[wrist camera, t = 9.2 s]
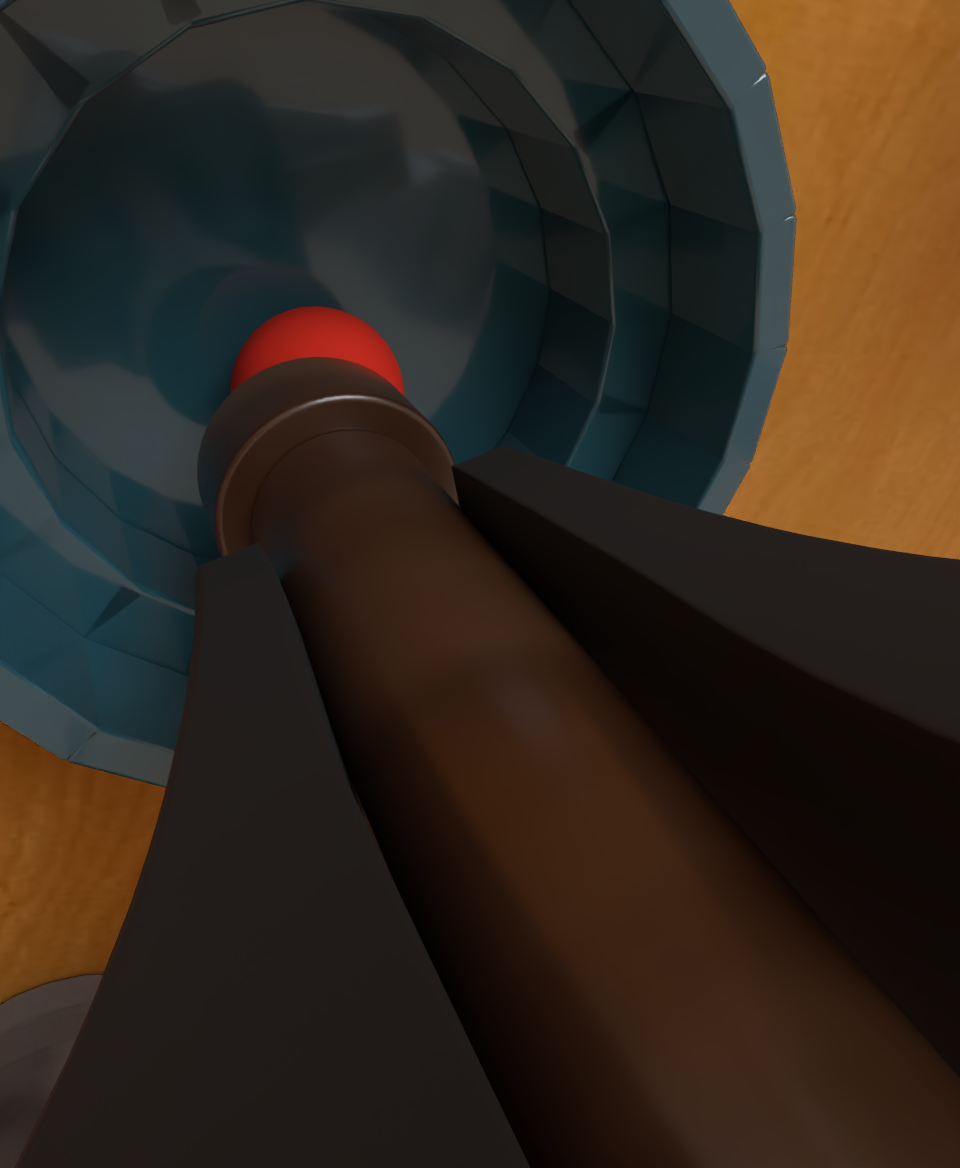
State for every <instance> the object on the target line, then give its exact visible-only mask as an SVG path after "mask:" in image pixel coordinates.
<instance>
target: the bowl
mask: <svg viewBox="0 0 960 1168" xmlns="http://www.w3.org/2000/svg"><path fill="white" fill-rule="evenodd" d="M765 70H766V65H765V64H764V62H763V60H762V58H761V57H760V55H759V53H758V51H757V50H756V48H755V46H754V44H753V42H752V41H751V39H750V37H749V35H748V34H747V32H746V30H745V28H744V27H743V25H742V23H741V21H740V19H739V18H738V16H737V14H736V12H735V11H734V9H733V7H732V5H731V4H730V2H729V0H0V721H1V722H2V723H4V724H6V725H7V726H9V727H10V728H12V729H14V730H15V731H17V732H18V733H20V734H22V735H23V736H25V737H26V738H28V739H30V740H31V741H33V742H35V743H36V744H38V745H39V746H41V747H43V748H44V749H46V750H47V751H49V752H51V753H52V754H54V755H55V756H57V757H59V758H60V759H63V760H65V759H66V760H67V761H68V762H70V763H74V764H78V765H82V766H85V767H89V768H93V769H97V770H100V771H104V772H108V773H112V774H116V775H119V776H123V777H127V778H131V779H134V780H138V781H142V782H146V783H149V784H153V785H157V786H161V787H165V788H166V786H167V782H168V777H169V773H170V769H171V764H172V760H173V756H174V752H175V747H176V743H177V739H178V734H179V730H180V725H181V720H182V715H183V709H184V703H185V696H186V689H187V683H188V676H189V669H190V663H191V656H192V645H193V634H194V620H195V588H194V580H193V579H194V577H195V575H196V573H197V571H198V569H199V567H200V565H203V564H205V563H208V562H210V561H213V560H215V559H218V558H220V557H221V556H220V553H219V550H218V547H217V544H216V541H215V539H214V536H213V533H212V530H211V527H210V524H209V521H208V518H207V515H206V512H205V509H204V506H203V503H202V500H201V497H200V494H199V488H198V482H197V462H198V454H199V449H200V445H201V442H202V438H203V435H204V433H205V431H206V428H207V426H208V424H209V422H210V420H211V418H212V417H213V415H214V414H215V412H216V410H217V409H218V407H219V406H220V405H221V404H222V403H223V401H224V400H225V399H226V398H227V396H229V395H230V394H231V377H232V373H233V368H234V365H235V362H236V359H237V357H238V354H239V352H240V350H241V348H242V347H243V345H244V344H245V342H246V341H247V339H248V338H249V337H250V336H251V334H252V333H253V332H254V331H255V330H256V329H257V328H258V327H260V326H261V325H262V324H263V323H265V322H266V321H267V320H269V319H270V318H272V317H274V316H276V315H278V314H280V313H283V312H285V311H288V310H291V309H295V308H300V307H311V306H320V307H328V308H334V309H337V310H341V311H344V312H346V313H349V314H351V315H353V316H355V317H357V318H359V319H361V320H362V321H364V322H365V323H366V324H368V325H369V326H370V327H372V328H373V329H374V330H375V331H376V332H377V333H378V334H379V335H380V336H381V337H382V338H383V339H384V341H385V342H386V343H387V345H388V346H389V347H390V349H391V351H392V353H393V354H394V356H395V358H396V360H397V363H398V365H399V368H400V371H401V375H402V379H403V384H404V396H405V397H406V398H407V399H408V400H409V401H410V402H411V403H412V405H413V406H414V407H415V408H416V409H417V410H418V411H419V412H420V413H421V414H422V415H423V416H424V417H425V418H426V419H427V420H428V421H429V422H430V423H431V424H432V425H433V426H434V427H435V428H436V430H437V431H438V432H439V433H440V435H441V436H442V438H443V439H444V441H445V442H446V444H447V446H448V448H449V450H450V452H451V455H452V457H453V459H454V463H455V465H456V464H458V463H461V462H463V461H466V460H468V459H471V458H473V457H476V456H479V455H481V454H484V453H486V452H489V451H491V450H494V449H496V448H499V447H501V446H503V447H507V448H511V449H515V450H518V451H522V452H525V453H528V454H531V455H534V456H537V457H540V458H543V459H546V460H549V461H552V462H555V463H558V464H561V465H564V466H567V467H570V468H573V469H575V470H578V471H581V472H584V473H587V474H590V475H593V476H596V477H599V478H602V479H605V480H608V481H611V482H614V483H617V484H620V485H623V486H626V487H629V488H632V489H635V490H638V491H641V492H644V493H648V494H651V495H654V496H657V497H660V498H664V499H667V500H670V501H673V502H677V503H680V504H684V505H687V506H690V507H694V508H697V509H701V510H704V511H708V512H712V513H715V514H719V515H723V513H724V512H725V510H726V508H727V506H728V505H729V503H730V501H731V499H732V498H733V496H734V494H735V492H736V490H737V489H738V487H739V485H740V483H741V482H742V480H743V478H744V476H745V475H746V473H747V471H748V469H749V468H750V464H749V463H751V462H752V460H753V457H754V454H755V451H756V447H757V444H758V441H759V438H760V435H761V431H762V428H763V425H764V422H765V419H766V416H767V412H768V409H769V406H770V403H771V400H772V396H773V393H774V390H775V387H776V384H777V380H778V377H779V374H780V371H781V368H782V364H783V361H784V358H785V355H786V352H787V347H786V346H785V345H786V344H787V343H788V337H789V322H790V307H791V292H792V278H793V263H794V248H795V233H796V215H795V214H794V212H795V210H796V206H795V201H794V196H793V191H792V187H791V182H790V177H789V172H788V167H787V162H786V157H785V152H784V147H783V142H782V138H781V133H780V128H779V123H778V118H777V113H776V108H775V103H774V98H773V93H772V89H771V84H770V79H769V76H768V74H767V73H766V72H765ZM458 506H459V504H458ZM459 507H460V506H459Z"/></svg>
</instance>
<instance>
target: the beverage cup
mask: <svg viewBox="0 0 960 1168" xmlns="http://www.w3.org/2000/svg"><path fill="white" fill-rule="evenodd" d="M102 976H103V975H83V976H78V977H73V978H69V979H64V980H59V981H54V982H50V983H47V984H44V985H42V986H39V987H37V988H34V989H32V990H29V991H27V992H24V993H22V994H19V995H17V996H14V997H12V998H11V999H9V1000H7V1001H6V1002H4V1003H2V1004H1V1005H0V1168H14V1167H15V1165H16V1163H17V1161H18V1159H19V1157H20V1155H21V1153H22V1151H23V1149H24V1147H25V1145H26V1143H27V1141H28V1139H29V1137H30V1134H31V1132H32V1130H33V1128H34V1126H35V1124H36V1122H37V1120H38V1118H39V1116H40V1114H41V1112H42V1110H43V1108H44V1106H45V1104H46V1102H47V1099H48V1097H49V1095H50V1093H51V1091H52V1089H53V1087H54V1085H55V1083H56V1081H57V1079H58V1077H59V1075H60V1073H61V1071H62V1069H63V1067H64V1064H65V1062H66V1060H67V1058H68V1056H69V1054H70V1051H71V1049H72V1047H73V1045H74V1042H75V1040H76V1038H77V1036H78V1033H79V1031H80V1029H81V1027H82V1024H83V1022H84V1020H85V1017H86V1015H87V1013H88V1010H89V1008H90V1006H91V1003H92V1001H93V998H94V996H95V994H96V991H97V989H98V986H99V984H100V981H101V978H102Z"/></svg>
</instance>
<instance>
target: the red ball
mask: <svg viewBox="0 0 960 1168" xmlns="http://www.w3.org/2000/svg"><path fill="white" fill-rule="evenodd" d="M307 357H331V358H338V359H344V360H348V361H351V362H354V363H358V364H360V365H362V366H365V367H367V368H369V369H371V370H373V371H375V372H376V373H378V374H379V375H381V376H382V377H384V378H385V379H386V380H388V381H389V382H390V383H391V384H392V385H393V386H395V387H396V388H397V389H398V390H399V391H400V392H401V393H402V394H403V395H404V384H403V379H402V375H401V371H400V368H399V365H398V363H397V360H396V358H395V356H394V354H393V353H392V351H391V349H390V347H389V346H388V345H387V343H386V342H385V341H384V339H383V338H382V337H381V336H380V335H379V334H378V333H377V332H376V331H375V330H374V329H373V328H372V327H370V326H369V325H368V324H366V323H365V322H364V321H362V320H361V319H359V318H357V317H355V316H353V315H351V314H349V313H346V312H344V311H341V310H337V309H334V308H328V307H320V306H311V307H300V308H295V309H291V310H288V311H285V312H283V313H280V314H278V315H276V316H274V317H272V318H270V319H269V320H267V321H266V322H265V323H263V324H262V325H261V326H260V327H258V328H257V329H256V330H255V331H254V332H253V333H252V334H251V336H250V337H249V338H248V339H247V341H246V342H245V344H244V345H243V347H242V348H241V350H240V352H239V354H238V357H237V359H236V362H235V365H234V368H233V373H232V377H231V393H232V392H233V391H234V390H235V389H236V388H237V387H238V386H239V385H241V384H242V383H243V382H245V381H246V380H247V379H249V378H250V377H252V376H253V375H255V374H257V373H259V372H261V371H262V370H264V369H266V368H268V367H271V366H274V365H276V364H279V363H282V362H285V361H290V360H294V359H298V358H307Z"/></svg>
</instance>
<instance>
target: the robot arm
mask: <svg viewBox="0 0 960 1168" xmlns="http://www.w3.org/2000/svg"><path fill="white" fill-rule="evenodd" d="M451 468H452V473H453V478H454V482H455V487H456V492H457V496H458V501H459V506H460V508H461V509H462V510H463V511H464V512H465V514H466V515H467V516H468V517H469V518H470V519H471V520H472V522H473V523H474V524H475V525H476V526H477V527H478V528H479V530H480V531H481V532H482V533H483V534H484V535H485V536H486V538H487V539H488V540H489V541H490V542H491V543H492V544H493V545H494V547H495V548H496V549H497V550H498V551H499V552H500V553H501V555H502V556H503V557H504V558H505V559H506V560H507V561H508V563H509V564H510V565H511V566H512V567H513V568H514V569H515V571H516V572H517V573H518V574H519V575H520V576H521V577H522V579H523V580H524V581H525V582H526V583H527V584H528V585H529V587H530V588H531V589H532V590H533V591H534V592H535V593H536V595H537V596H538V597H539V598H540V599H541V600H542V601H543V603H544V604H545V605H546V606H547V607H548V608H549V609H550V611H551V612H552V613H553V614H554V615H555V616H556V617H557V619H558V620H559V621H560V622H561V623H562V624H563V625H564V627H565V628H566V629H567V630H568V631H569V632H570V633H571V634H572V636H573V637H574V638H575V639H576V640H577V641H578V642H579V644H580V645H581V646H582V647H583V648H584V649H585V650H586V652H587V653H588V654H589V655H590V656H591V657H592V658H593V660H594V661H595V662H596V663H597V664H598V665H599V666H600V668H601V669H602V670H603V671H604V672H605V673H606V674H607V676H608V677H609V678H610V679H611V680H612V681H613V682H614V684H615V685H616V686H617V687H618V688H619V689H620V690H621V692H622V693H623V694H624V695H625V696H626V697H627V698H628V700H629V701H630V702H631V703H632V704H633V705H634V706H635V708H636V709H637V710H638V711H639V712H640V713H641V714H642V715H643V717H644V718H645V719H646V720H647V721H648V722H649V723H650V725H651V726H652V727H653V728H654V729H655V730H656V731H657V733H658V734H659V735H660V736H661V737H662V738H663V739H664V741H665V742H666V743H667V744H668V745H669V746H670V747H671V749H672V750H673V751H674V752H675V753H676V754H677V755H678V757H679V758H680V759H681V760H682V761H683V762H684V763H685V765H686V766H687V767H688V768H689V769H690V770H691V771H692V773H693V774H694V775H695V776H696V777H697V778H698V779H699V781H700V782H701V783H702V784H703V785H704V786H705V787H706V789H707V790H708V791H709V792H710V793H711V794H712V795H713V797H714V798H715V799H716V800H717V801H718V802H719V803H720V804H721V806H722V807H723V808H724V809H725V810H726V811H727V812H728V814H729V815H730V816H731V817H732V818H733V819H734V820H735V822H736V823H737V824H738V825H739V826H740V827H741V828H742V830H743V831H744V832H745V833H746V834H747V835H748V836H749V838H750V839H751V840H752V841H753V842H754V843H755V844H756V846H757V847H758V848H759V849H760V850H761V851H762V852H763V854H764V855H765V856H766V857H767V858H768V859H769V860H770V862H771V863H772V864H773V865H774V866H775V867H776V868H777V870H778V871H779V872H780V873H781V874H782V875H783V876H784V878H785V879H786V880H787V881H788V882H789V883H790V884H791V886H792V887H793V888H794V889H795V890H796V891H797V892H798V893H799V895H800V896H801V897H802V898H803V899H804V900H805V901H806V903H807V904H808V905H809V906H810V907H811V908H812V909H813V911H814V912H815V913H816V914H817V915H818V916H819V917H820V919H821V920H822V921H823V922H824V923H825V924H826V925H827V927H828V928H829V929H830V930H831V931H832V932H833V933H834V935H835V936H836V937H837V938H838V939H839V940H840V941H841V943H842V944H843V945H844V946H845V947H846V948H847V949H848V951H849V952H850V953H851V954H852V955H853V956H854V957H855V959H856V960H857V961H858V962H859V963H860V964H861V965H862V967H863V968H864V969H865V970H866V971H867V972H868V973H869V974H870V976H871V977H872V978H873V979H874V980H875V981H876V982H877V984H878V985H879V986H880V987H881V988H882V989H883V990H884V992H885V993H886V994H887V995H888V996H889V997H890V998H891V1000H892V1001H893V1002H894V1003H895V1004H896V1005H897V1006H898V1008H899V1009H900V1010H901V1011H902V1012H903V1013H904V1014H905V1016H906V1017H907V1018H908V1019H909V1020H910V1021H911V1022H912V1024H913V1025H914V1026H915V1027H916V1028H917V1029H918V1030H919V1032H920V1033H921V1034H922V1035H923V1036H924V1037H925V1038H926V1040H927V1041H928V1042H929V1043H930V1044H931V1045H932V1046H933V1048H934V1049H935V1050H936V1051H937V1052H938V1053H939V1054H940V1056H941V1057H942V1058H943V1059H944V1060H945V1061H946V1062H947V1063H948V1065H949V1066H950V1067H951V1068H952V1069H953V1070H954V1071H955V1073H956V1074H957V1075H958V1076H959V1077H960V560H958V559H949V558H940V557H931V556H924V555H917V554H910V553H903V552H896V551H889V550H883V549H877V548H871V547H866V546H860V545H855V544H850V543H844V542H839V541H833V540H828V539H822V538H817V537H811V536H806V535H801V534H797V533H792V532H788V531H783V530H779V529H774V528H770V527H766V526H762V525H758V524H754V523H750V522H746V521H743V520H739V519H735V518H731V517H727V516H723V515H719V514H715V513H712V512H708V511H704V510H701V509H697V508H694V507H690V506H687V505H684V504H680V503H677V502H673V501H670V500H667V499H664V498H660V497H657V496H654V495H651V494H648V493H644V492H641V491H638V490H635V489H632V488H629V487H626V486H623V485H620V484H617V483H614V482H611V481H608V480H605V479H602V478H599V477H596V476H593V475H590V474H587V473H584V472H581V471H578V470H575V469H573V468H570V467H567V466H564V465H561V464H558V463H555V462H552V461H549V460H546V459H543V458H540V457H537V456H534V455H531V454H528V453H525V452H522V451H518V450H515V449H511V448H507V447H503V446H501V447H499V448H496V449H494V450H491V451H489V452H486V453H484V454H481V455H479V456H476V457H473V458H471V459H468V460H466V461H463V462H461V463H458V464H456V465H453V466H451ZM193 580H194V588H195V620H194V634H193V645H192V656H191V663H190V669H189V676H188V683H187V689H186V696H185V703H184V709H183V715H182V720H181V725H180V730H179V734H178V739H177V743H176V747H175V752H174V756H173V760H172V764H171V769H170V773H169V777H168V782H167V786H166V790H165V795H164V798H163V802H162V806H161V809H160V813H159V816H158V820H157V823H156V827H155V830H154V834H153V837H152V840H151V843H150V847H149V850H148V853H147V856H146V859H145V862H144V865H143V868H142V871H141V874H140V877H139V880H138V883H137V886H136V889H135V892H134V895H133V898H132V901H131V904H130V906H129V909H128V912H127V915H126V917H125V920H124V922H123V925H122V927H121V930H120V933H119V935H118V938H117V940H116V943H115V945H114V948H113V950H112V953H111V956H110V958H109V961H108V963H107V966H106V968H105V971H104V973H103V976H102V978H101V981H100V984H99V986H98V989H97V991H96V994H95V996H94V998H93V1001H92V1003H91V1006H90V1008H89V1010H88V1013H87V1015H86V1017H85V1020H84V1022H83V1024H82V1027H81V1029H80V1031H79V1033H78V1036H77V1038H76V1040H75V1042H74V1045H73V1047H72V1049H71V1051H70V1054H69V1056H68V1058H67V1060H66V1062H65V1064H64V1067H63V1069H62V1071H61V1073H60V1075H59V1077H58V1079H57V1081H56V1083H55V1085H54V1087H53V1089H52V1091H51V1093H50V1095H49V1097H48V1099H47V1102H46V1104H45V1106H44V1108H43V1110H42V1112H41V1114H40V1116H39V1118H38V1120H37V1122H36V1124H35V1126H34V1128H33V1130H32V1132H31V1134H30V1137H29V1139H28V1141H27V1143H26V1145H25V1147H24V1149H23V1151H22V1153H21V1155H20V1157H19V1159H18V1161H17V1163H16V1165H15V1167H14V1168H530V1166H529V1164H528V1162H527V1160H526V1158H525V1156H524V1154H523V1152H522V1149H521V1147H520V1145H519V1143H518V1141H517V1139H516V1137H515V1135H514V1133H513V1131H512V1129H511V1126H510V1124H509V1122H508V1120H507V1118H506V1116H505V1114H504V1112H503V1110H502V1108H501V1106H500V1104H499V1101H498V1099H497V1097H496V1095H495V1093H494V1091H493V1089H492V1087H491V1085H490V1083H489V1081H488V1079H487V1076H486V1074H485V1072H484V1070H483V1068H482V1066H481V1064H480V1062H479V1060H478V1058H477V1056H476V1054H475V1051H474V1049H473V1047H472V1045H471V1043H470V1041H469V1039H468V1037H467V1035H466V1033H465V1031H464V1028H463V1026H462V1024H461V1022H460V1020H459V1018H458V1016H457V1014H456V1012H455V1010H454V1008H453V1006H452V1003H451V1001H450V999H449V997H448V995H447V993H446V991H445V989H444V987H443V984H442V982H441V980H440V978H439V976H438V974H437V972H436V970H435V968H434V965H433V963H432V961H431V959H430V957H429V955H428V953H427V951H426V949H425V946H424V944H423V942H422V940H421V938H420V936H419V934H418V932H417V930H416V928H415V925H414V923H413V921H412V919H411V917H410V915H409V913H408V911H407V909H406V906H405V904H404V902H403V900H402V898H401V896H400V894H399V892H398V890H397V887H396V885H395V883H394V881H393V879H392V877H391V875H390V872H389V869H388V867H387V864H386V862H385V860H384V857H383V855H382V852H381V850H380V848H379V845H378V843H377V840H376V838H375V835H374V833H373V831H372V828H371V826H370V823H369V821H368V819H367V816H366V814H365V811H364V809H363V807H362V804H361V802H360V799H359V797H358V794H357V792H356V790H355V787H354V785H353V782H352V780H351V778H350V775H349V773H348V770H347V768H346V765H345V763H344V760H343V757H342V754H341V752H340V749H339V746H338V743H337V740H336V738H335V735H334V732H333V729H332V726H331V723H330V720H329V717H328V714H327V711H326V708H325V705H324V702H323V699H322V696H321V693H320V690H319V687H318V684H317V681H316V678H315V675H314V672H313V669H312V666H311V663H310V660H309V657H308V654H307V651H306V648H305V645H304V642H303V639H302V636H301V633H300V630H299V628H298V625H297V623H296V620H295V618H294V615H293V613H292V610H291V608H290V605H289V603H288V600H287V598H286V595H285V593H284V590H283V588H282V585H281V583H280V580H279V578H278V575H277V573H276V571H275V569H274V568H273V566H272V564H271V562H270V560H269V558H268V557H267V555H266V553H265V551H264V550H263V548H262V546H261V545H260V543H259V542H258V543H256V544H253V545H251V546H248V547H246V548H243V549H241V550H238V551H235V552H233V553H230V554H228V555H225V556H223V557H220V558H218V559H215V560H213V561H210V562H208V563H205V564H203V565H200V567H199V569H198V571H197V573H196V575H195V577H194V579H193Z"/></svg>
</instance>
